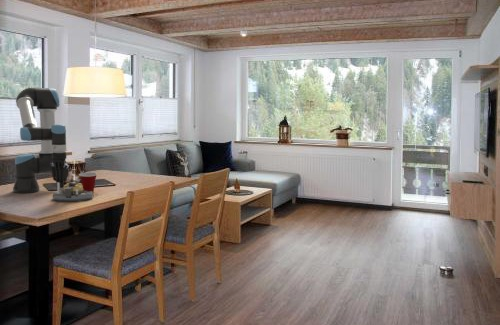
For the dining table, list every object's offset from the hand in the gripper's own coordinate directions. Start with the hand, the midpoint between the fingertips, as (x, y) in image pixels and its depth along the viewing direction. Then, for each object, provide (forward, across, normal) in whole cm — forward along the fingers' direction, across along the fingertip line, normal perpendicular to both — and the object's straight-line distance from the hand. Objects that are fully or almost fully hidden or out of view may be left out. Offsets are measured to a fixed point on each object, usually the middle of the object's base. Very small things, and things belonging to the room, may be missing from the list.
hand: (60, 193), depth 266 cm
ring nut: (+1, +2, +6) cm, 7 cm away
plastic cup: (+5, -5, +28) cm, 29 cm away
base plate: (+4, +1, +9) cm, 10 cm away
